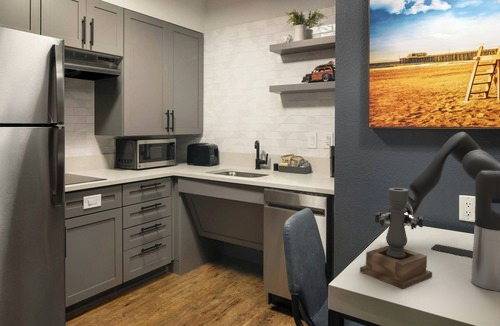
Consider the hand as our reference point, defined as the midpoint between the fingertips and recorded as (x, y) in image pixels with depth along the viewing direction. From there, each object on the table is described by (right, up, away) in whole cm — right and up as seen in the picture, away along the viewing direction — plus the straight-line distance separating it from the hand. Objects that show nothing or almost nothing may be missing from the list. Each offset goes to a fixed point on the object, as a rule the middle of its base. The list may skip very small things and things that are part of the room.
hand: (397, 224), depth 114 cm
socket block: (0, -16, +2) cm, 16 cm away
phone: (+30, -14, +22) cm, 40 cm away
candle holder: (0, -14, +2) cm, 15 cm away
